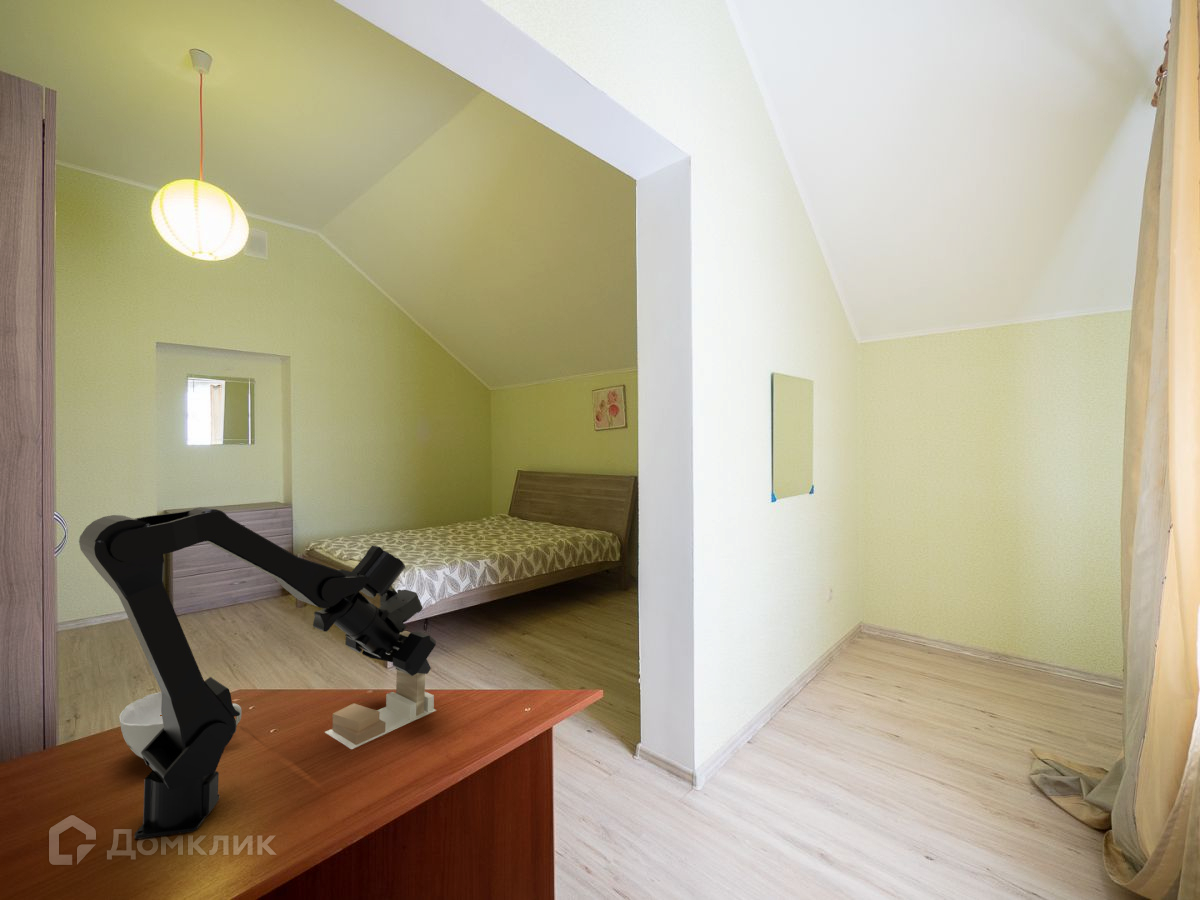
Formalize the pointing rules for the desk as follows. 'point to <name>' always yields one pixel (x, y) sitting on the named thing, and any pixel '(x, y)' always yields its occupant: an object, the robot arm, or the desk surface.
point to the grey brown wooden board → (411, 686)
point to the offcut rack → (375, 719)
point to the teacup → (146, 721)
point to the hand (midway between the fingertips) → (417, 666)
